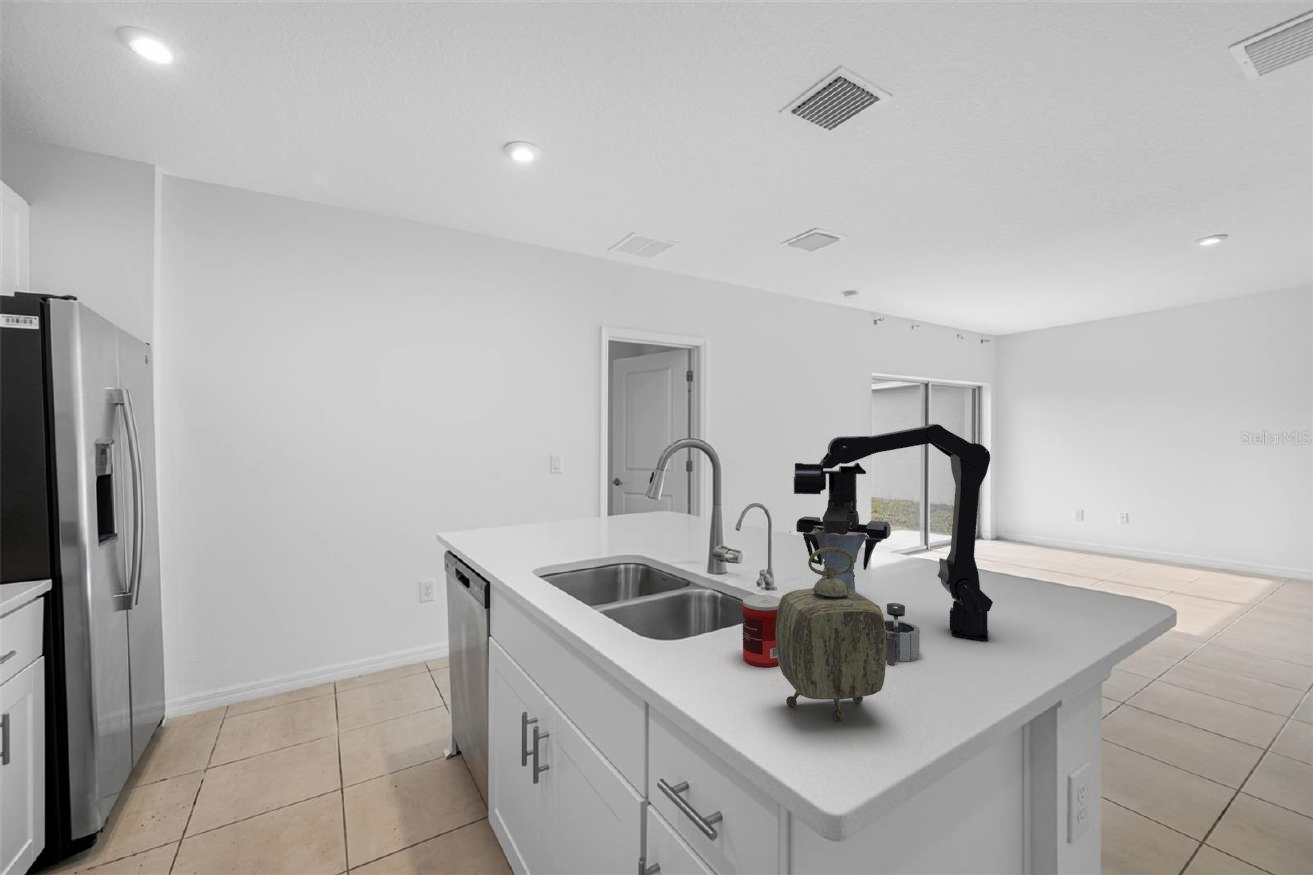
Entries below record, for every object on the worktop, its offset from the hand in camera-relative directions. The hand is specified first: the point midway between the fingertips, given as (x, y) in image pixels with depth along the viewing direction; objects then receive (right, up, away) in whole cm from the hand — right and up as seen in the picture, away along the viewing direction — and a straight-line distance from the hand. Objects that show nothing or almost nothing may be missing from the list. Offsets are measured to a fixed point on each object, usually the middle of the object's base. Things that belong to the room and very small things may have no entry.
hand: (842, 567), depth 125 cm
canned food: (-20, -14, -17) cm, 30 cm away
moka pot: (+5, -13, +20) cm, 25 cm away
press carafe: (+5, -13, -16) cm, 21 cm away
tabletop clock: (-14, -14, -38) cm, 43 cm away
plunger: (+5, -13, -14) cm, 20 cm away
